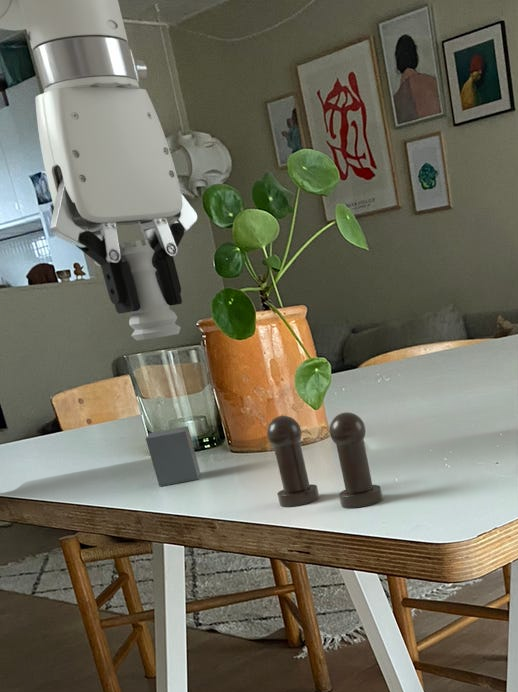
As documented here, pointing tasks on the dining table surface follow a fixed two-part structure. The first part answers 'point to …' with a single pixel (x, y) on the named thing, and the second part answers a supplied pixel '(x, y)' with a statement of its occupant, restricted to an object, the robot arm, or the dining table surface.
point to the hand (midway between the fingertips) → (149, 306)
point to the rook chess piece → (147, 294)
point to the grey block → (173, 456)
